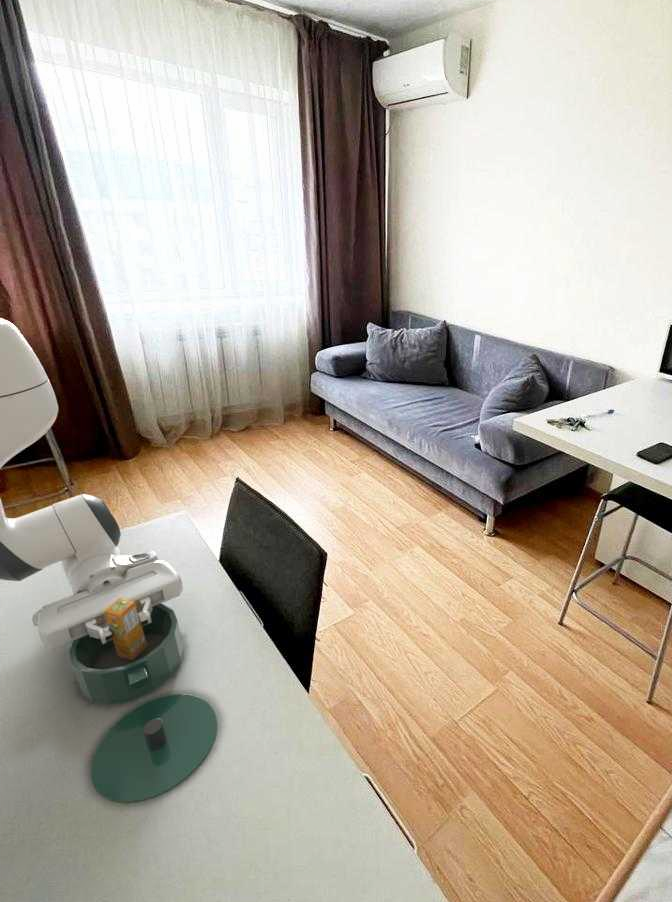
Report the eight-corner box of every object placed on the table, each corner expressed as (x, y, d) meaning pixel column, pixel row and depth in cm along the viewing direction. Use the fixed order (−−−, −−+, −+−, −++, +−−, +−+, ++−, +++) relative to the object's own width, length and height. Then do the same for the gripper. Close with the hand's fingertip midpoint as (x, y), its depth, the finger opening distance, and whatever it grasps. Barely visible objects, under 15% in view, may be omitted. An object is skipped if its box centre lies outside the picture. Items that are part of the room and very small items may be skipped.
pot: (90, 739, 71) (77, 704, 68) (74, 650, 85) (63, 617, 82) (198, 686, 80) (191, 653, 77) (168, 613, 94) (161, 582, 90)
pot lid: (102, 834, 61) (93, 812, 59) (85, 737, 71) (77, 716, 70) (232, 757, 70) (228, 736, 68) (200, 681, 81) (196, 661, 79)
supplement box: (114, 657, 80) (101, 610, 76) (132, 641, 83) (119, 595, 79) (132, 662, 79) (119, 615, 75) (148, 646, 82) (137, 600, 78)
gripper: (24, 597, 79) (39, 650, 70) (163, 547, 92) (191, 586, 84) (35, 627, 81) (51, 681, 73) (169, 574, 95) (196, 614, 86)
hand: (127, 629), depth 78 cm, fingers closed on supplement box, 4 cm apart
